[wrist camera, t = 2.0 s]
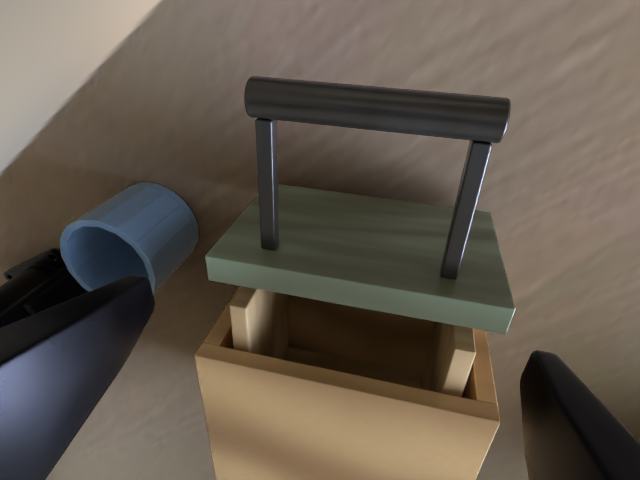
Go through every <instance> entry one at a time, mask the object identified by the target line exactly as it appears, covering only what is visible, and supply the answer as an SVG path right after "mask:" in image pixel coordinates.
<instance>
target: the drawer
mask: <svg viewBox="0 0 640 480" xmlns="http://www.w3.org/2000/svg"><path fill="white" fill-rule="evenodd" d="M244 99H245V108H246V112H247V114H248V115H249V116H250V117H253V118H257V119H256V120H255V125H256V147H257V169H258V191H259V194H258V195H257V196H256V197H255V198H254V199H253V200H252V202H251V203H250V204H249V205H248V206H247V207H246V209H245V210H244V211H243V212H242V213H241V214H240V216H239V217H238V218H237V219H236V220H235V221H234V223H233V224H232V225H231V226H230V227H229V228H228V230H227V231H226V232H225V233H224V234H223V235H222V237H221V238H220V239H219V240H218V241H217V242H216V244H215V245H214V246H213V247H212V248H211V249H210V251H209V252H208V253H207V254H206V255H205V261H206V269H207V276H208V280H210V281H216V282H221V283H227V284H232V285H238V286H242V287H241V288H240V290H239V291H238V293H237V294H236V296H235V297H234V299H233V301H232V302H231V304H230V306H229V307H230V317H231V327H232V337H233V346H234V349H235V350H239V351H244V352H249V353H254V354H258V355H263V356H268V357H272V358H277V359H282V360H287V361H291V362H296V363H301V364H306V365H310V366H315V367H320V368H324V369H329V370H334V371H339V372H343V373H348V374H353V375H358V376H362V377H367V378H372V379H376V380H381V381H386V382H391V383H395V384H400V385H405V386H410V387H414V388H419V389H424V390H428V391H433V392H438V393H443V394H447V395H452V396H457V397H461V396H462V393H463V390H464V387H465V384H466V381H467V378H468V375H469V372H470V369H471V366H472V363H473V360H474V357H475V354H476V348H475V340H474V332H473V328H474V329H479V330H485V331H490V332H496V333H501V334H506V333H507V330H508V328H509V325H510V322H511V320H512V317H513V315H514V312H515V305H514V302H513V298H512V294H511V290H510V286H509V282H508V278H507V275H506V271H505V267H504V263H503V259H502V255H501V251H500V248H499V244H498V240H497V236H496V232H495V228H494V224H493V221H492V217H491V213H490V212H483V211H475V208H476V204H477V201H478V197H479V193H480V189H481V186H482V182H483V178H484V174H485V171H486V167H487V163H488V159H489V155H490V152H491V148H492V144H491V143H499V142H501V140H502V139H503V137H504V135H505V132H506V129H507V125H508V121H509V116H510V108H511V105H510V99H508V98H502V97H490V96H479V95H467V94H455V93H444V92H432V91H420V90H409V89H397V88H386V87H374V86H362V85H351V84H339V83H328V82H316V81H304V80H293V79H281V78H269V77H258V76H252V77H250V78H249V79H248V81H247V84H246V88H245V98H244ZM277 120H281V121H291V122H301V123H310V124H320V125H329V126H339V127H348V128H358V129H367V130H377V131H386V132H396V133H405V134H415V135H425V136H434V137H444V138H453V139H463V140H470V143H469V147H468V152H467V156H466V160H465V164H464V169H463V173H462V177H461V182H460V186H459V190H458V194H457V199H456V203H455V207H454V208H453V207H445V206H438V205H430V204H423V203H415V202H408V201H401V200H393V199H386V198H378V197H371V196H363V195H356V194H348V193H341V192H333V191H326V190H318V189H311V188H303V187H296V186H288V185H281V184H278V159H277Z"/></svg>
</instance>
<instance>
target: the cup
mask: <svg viewBox="0 0 640 480" xmlns="http://www.w3.org/2000/svg"><path fill="white" fill-rule="evenodd" d="M198 238H199V230H198V224H197V221H196V218H195V216H194V214H193V212H192V211H191V209H190V208H189V206H188V205H187V204H186V203H185V202H184V200H183V199H182V198H180V197H179V196H178V195H177V194H176V193H174V192H173V191H171V190H170V189H168V188H166V187H164V186H161V185H158V184H155V183H150V182H140V183H135V184H133V185H130V186H129V187H127V188H126V189H124V190H122V191H120V192H118V193H117V194H115V195H114V196H112V197H111V198H109V199H108V200H106V201H104V202H103V203H101V204H100V205H98V206H97V207H95V208H94V209H92V210H90V211H89V212H87V213H86V214H84V215H83V216H81V217H80V218H78V219H76V220H75V221H73V222H72V223H70V224H69V225H67V226H66V227H65V229H64V231H63V233H62V235H61V237H60V252H61V256H62V259H63V261H64V263H65V265H66V267H67V269H68V271H69V272H70V274H71V275H72V276H73V277H74V278H75V279H76V281H77V282H78V283H79V284H80V285H81V286H82V287H83V288H84V289H86V290H87V291H88V292H90V291H92V290H94V289H97V288H99V287H102V286H104V285H107V284H109V283H112V282H114V281H116V280H119V279H121V278H124V277H126V276H129V275H132V274H133V275H140V276H145V277H147V278H148V279H149V280H150V283H151V287H152V292H153V295H154V294H155V292H156V291H157V290H158V289H159V288H160V287H161V286H162V285H163V284H164V283H165V282H166V280H167V279H168V278H169V277H170V276H171V275H172V274H173V273H174V272H175V271H176V270H177V269H178V267H179V266H180V265H181V264H182V263H183V262H184V261H185V260H186V259H187V257H188V256H189V255H190V254H191V253H192V252H193V251H194V249H195V248H196V245H197V243H198Z"/></svg>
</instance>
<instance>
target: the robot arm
mask: <svg viewBox="0 0 640 480" xmlns="http://www.w3.org/2000/svg"><path fill="white" fill-rule="evenodd" d="M4 276H5V278H6V279H7V280H8V281H7V282H6V283H4V284H3V285H2V286H0V480H45V479H46V478H47V476H48V475H49V474H50V472H51V471H52V469H53V468H54V466H55V465H56V463H57V462H58V460H59V459H60V457H61V456H62V455H63V453H64V452H65V450H66V449H67V447H68V446H69V444H70V443H71V441H72V440H73V438H74V437H75V436H76V434H77V433H78V431H79V430H80V428H81V427H82V425H83V424H84V422H85V421H86V419H87V418H88V417H89V415H90V414H91V412H92V411H93V409H94V408H95V406H96V405H97V403H98V402H99V400H100V399H101V398H102V396H103V395H104V393H105V392H106V390H107V389H108V387H109V386H110V384H111V383H112V381H113V380H114V379H115V377H116V376H117V374H118V373H119V371H120V370H121V368H122V367H123V365H124V363H125V362H126V360H127V358H128V357H129V355H130V353H131V351H132V349H133V348H134V346H135V344H136V342H137V340H138V338H139V337H140V335H141V333H142V331H143V329H144V327H145V326H146V324H147V322H148V320H149V318H150V316H151V314H152V313H153V310H154V306H155V301H154V297H153V292H152V287H151V283H150V280H149V279H148V278H147V277H145V276H140V275H133V274H132V275H129V276H126V277H124V278H121V279H119V280H116V281H114V282H112V283H109V284H107V285H104V286H102V287H99V288H97V289H94V290H92V291H90V292H88V291H87V290H86V289H84V288H83V287H82V286H81V285H80V284H79V283H78V282H77V281H76V279H75V278H74V277H73V276H72V275H71V274H70V272H69V271H68V269H67V267H66V265H65V263H64V261H63V259H62V256H61V253H60V252H59V251H58V250H56V249H50V250H48V251H46V252H44V253H42V254H40V255H38V256H36V257H34V258H32V259H30V260H28V261H26V262H23V263H21V264H19V265H17V266H15V267H13V268H11V269H9V270H8V271H6V272H5V273H4ZM520 395H521V409H522V424H523V438H524V451H525V459H526V465H527V471H528V476H529V480H640V442H639V441H638V440H637V439H636V438H635V437H634V436H633V435H632V434H631V433H630V432H629V431H628V430H627V429H626V427H625V426H624V425H623V424H622V423H621V422H620V421H619V420H618V419H617V418H616V417H615V416H614V415H613V414H612V413H611V412H610V411H609V410H608V409H607V407H606V406H605V405H604V404H603V403H602V402H601V401H600V400H599V399H598V398H597V397H596V396H595V395H594V394H593V393H592V392H591V391H590V390H589V389H588V387H587V386H586V385H585V384H584V383H583V382H582V381H581V380H580V379H579V378H578V377H577V376H576V375H575V374H574V373H573V372H572V371H571V370H570V369H569V367H568V366H567V365H566V364H565V363H564V362H563V361H562V360H561V359H560V358H559V357H558V356H557V355H555V354H553V353H549V352H544V351H538V350H536V351H533V352H532V354H531V355H530V358H529V360H528V362H527V364H526V367H525V369H524V371H523V373H522V376H521V380H520Z"/></svg>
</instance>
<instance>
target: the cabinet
mask: <svg viewBox="0 0 640 480" xmlns="http://www.w3.org/2000/svg"><path fill="white" fill-rule="evenodd" d="M241 287H242V286H239V288H238V289H237V291H236V292H235V294H234V295H233V297H232V299H231V300H230V302H229V303H228V305H227V306H226V308H225V309H224V311H223V312H222V314H221V315H220V317H219V318H218V320H217V321H216V323H215V325H214V326H213V328H212V329H211V331H210V332H209V334H208V335H207V337H206V338H205V340H204V341H203V343H202V344H201V346H200V348H199V349H198V351H197V352H196V354H195V362H196V368H197V373H198V379H199V385H200V390H201V396H202V402H203V407H204V413H205V419H206V424H207V430H208V436H209V441H210V447H211V453H212V458H213V464H214V470H215V475H216V480H475V479H476V477H477V475H478V473H479V470H480V468H481V466H482V463H483V461H484V459H485V456H486V454H487V452H488V450H489V447H490V445H491V443H492V440H493V438H494V436H495V433H496V431H497V429H498V427H499V424H500V416H499V410H498V403H497V397H496V391H495V384H494V378H493V371H492V365H491V359H490V352H489V346H488V339H487V333H486V331H485V330H479V329H474V328H473V332H474V340H475V348H476V354H475V357H474V360H473V363H472V366H471V369H470V372H469V375H468V378H467V381H466V384H465V387H464V390H463V393H462V396H461V397H457V396H452V395H447V394H443V393H438V392H433V391H428V390H424V389H419V388H414V387H410V386H405V385H400V384H395V383H391V382H386V381H381V380H376V379H372V378H367V377H362V376H358V375H353V374H348V373H343V372H339V371H334V370H329V369H324V368H320V367H315V366H310V365H306V364H301V363H296V362H291V361H287V360H282V359H277V358H272V357H268V356H263V355H258V354H254V353H249V352H244V351H239V350H235V349H234V346H233V337H232V327H231V317H230V307H229V306H230V304H231V302H232V301H233V299H234V297H235V296H236V294H237V293H238V291H239V290H240V288H241Z"/></svg>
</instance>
